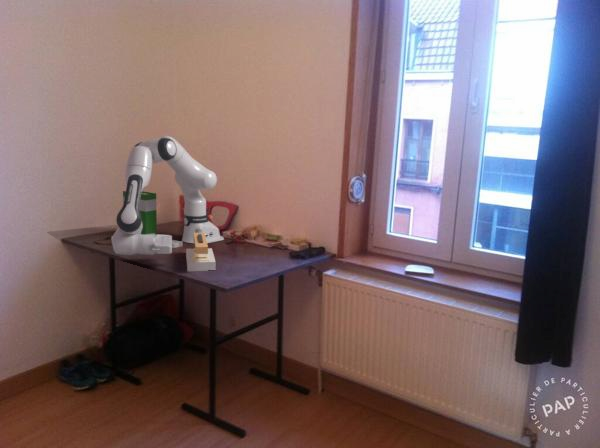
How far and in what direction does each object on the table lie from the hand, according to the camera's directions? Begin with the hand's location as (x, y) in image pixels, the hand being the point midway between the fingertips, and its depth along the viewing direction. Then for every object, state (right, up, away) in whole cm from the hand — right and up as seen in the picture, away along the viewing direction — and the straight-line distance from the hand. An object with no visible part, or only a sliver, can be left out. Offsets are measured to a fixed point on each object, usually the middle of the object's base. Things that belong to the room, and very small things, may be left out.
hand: (182, 244), depth 231 cm
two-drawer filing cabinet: (+6, -9, +9) cm, 14 cm away
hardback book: (-36, +2, +55) cm, 65 cm away
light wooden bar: (+6, -1, +5) cm, 8 cm away
